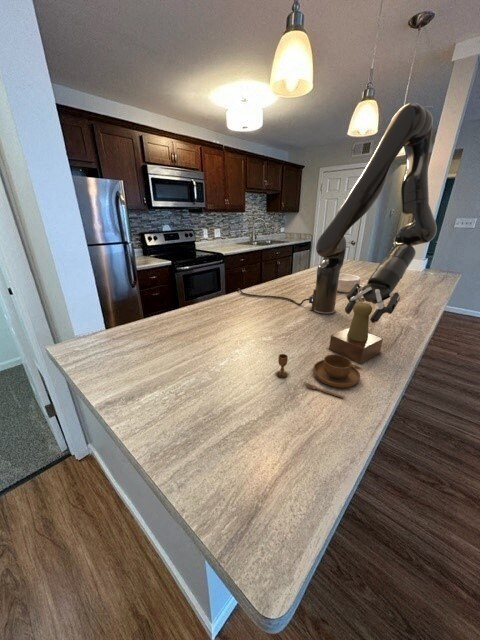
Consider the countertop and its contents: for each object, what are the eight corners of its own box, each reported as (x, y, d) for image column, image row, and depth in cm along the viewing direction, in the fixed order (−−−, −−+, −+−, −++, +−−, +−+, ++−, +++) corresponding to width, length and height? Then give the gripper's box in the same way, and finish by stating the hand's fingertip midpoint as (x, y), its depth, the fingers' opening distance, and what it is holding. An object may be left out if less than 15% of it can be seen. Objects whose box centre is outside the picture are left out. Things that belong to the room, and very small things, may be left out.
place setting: (352, 403, 61) (356, 382, 59) (274, 376, 71) (275, 358, 69) (363, 367, 75) (367, 349, 73) (297, 349, 85) (298, 333, 82)
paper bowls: (355, 295, 139) (357, 281, 136) (326, 291, 146) (328, 277, 143) (360, 289, 150) (363, 275, 147) (333, 285, 158) (335, 272, 155)
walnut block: (329, 349, 85) (330, 335, 83) (348, 340, 91) (351, 326, 89) (360, 363, 77) (363, 348, 75) (379, 352, 83) (383, 338, 81)
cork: (367, 334, 83) (374, 302, 79) (367, 342, 78) (374, 308, 74) (347, 331, 86) (353, 299, 82) (346, 339, 81) (351, 305, 76)
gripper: (363, 263, 84) (334, 303, 82) (409, 271, 73) (378, 318, 71) (369, 277, 88) (343, 316, 87) (414, 286, 78) (384, 331, 76)
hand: (358, 316), depth 79 cm, fingers open, 8 cm apart
